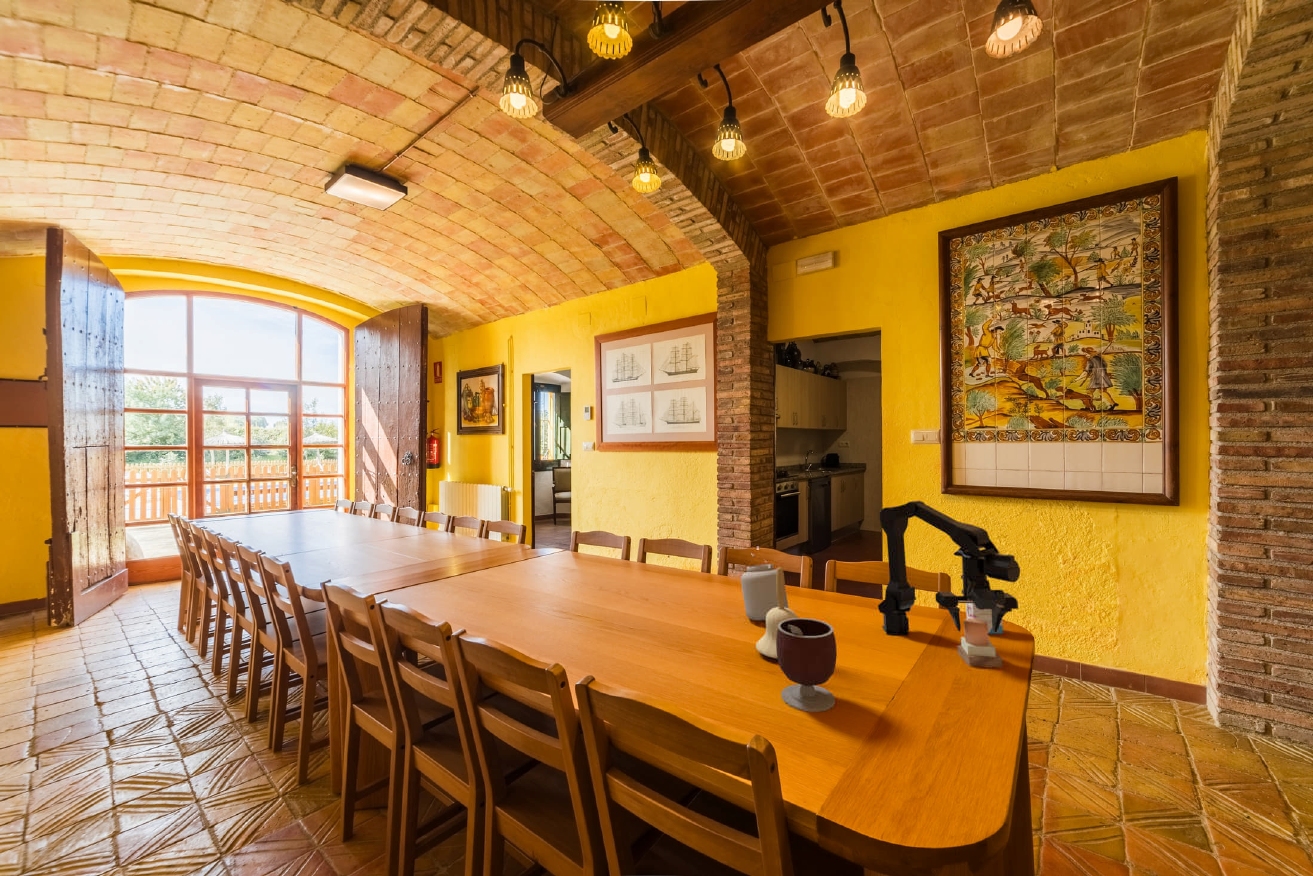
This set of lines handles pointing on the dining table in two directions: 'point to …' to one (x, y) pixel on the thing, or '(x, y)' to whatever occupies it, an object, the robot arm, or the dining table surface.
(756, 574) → the jar
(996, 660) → the walnut slab
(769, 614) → the handbell
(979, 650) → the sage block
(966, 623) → the terracotta cylinder
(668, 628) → the dining table surface
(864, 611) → the dining table surface
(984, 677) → the dining table surface
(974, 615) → the ink box
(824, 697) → the mate gourd
